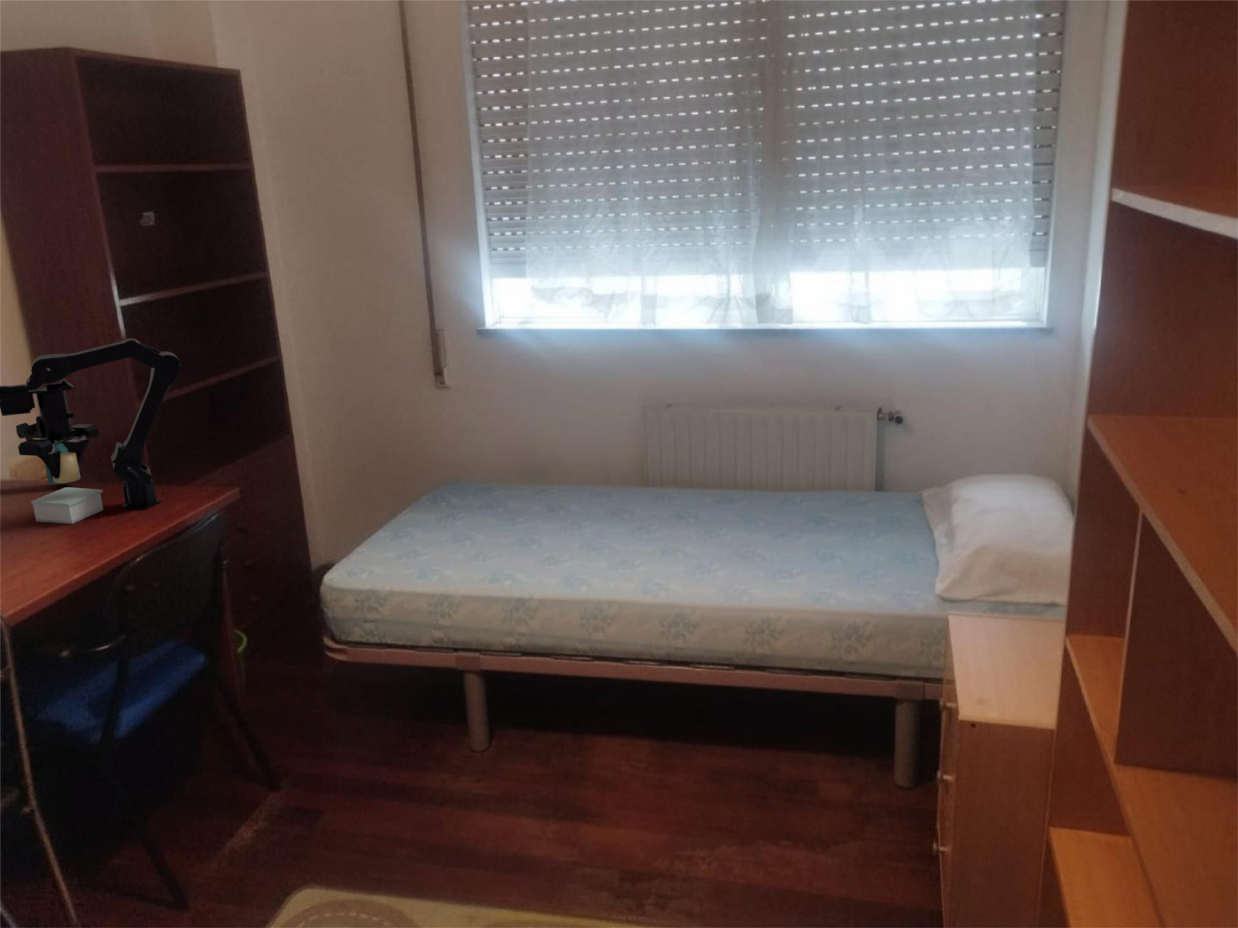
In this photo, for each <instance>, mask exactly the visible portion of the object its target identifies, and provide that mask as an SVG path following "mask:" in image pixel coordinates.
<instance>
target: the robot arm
mask: <svg viewBox="0 0 1238 928" xmlns="http://www.w3.org/2000/svg"><path fill="white" fill-rule="evenodd" d="M128 358H133V359H135V360H138V361H139V362H141V363H143V364H145V365H147V366H148V367H151V369H150V377H149V382H148V387H147V390H146V392H145V395H144V397H143V400H142V401H141V405H140V406H139V407H140V408H139V410H138V412H137V414H136V416H135V420H134V422H133V424H132V425H131V426H132V427H131V430H130V431H129V434H128V436H127V438H126V439H125V440H124V442H123V443H121V442H118V441H117V442H116V443H115V448H114V452H113V453H112V454H111V456H110V459H111V464H112V468H113V473H114V474H115V475H116V476H117V477H118V478H120V479H121V480H124V481H123V482H122V483H123V487H122V491H123V496H124V497H123V498H124V503H125V504H123V505H121V507H122V508H123V509H134V510H135V509H136V510H146V509H148V508H150V507H152V506H154V505H156V504H158V503H162V502H163V501H162V499H161V498H157V491H156V487H155V480H154V479H152V477H153V476H152V473H151V470H150V467H149V466H148V465H146V464H144V463H143V460H144V459H143V458H144V450H145V444H146V442H147V439H148V437H149V435H150V432H151V429H152V427H153V425H154V422H155V420H156V417H157V416H158V415H157V414H158V412H159V409H160V408H161V405H162V402H163V400H164V399H165V398H164V397H165V395H166V393H167V392H168V391H169V389H170V388H171V387H172V385H174V383H175V381H177V378H178V376H179V375H180V373H182V372H181V371H182V364H181V361H180V359H179V358H178V357H177V356H176V354H174V353H173V352H171V351H160V350H158V349H156V348H154V347H151V346H149V345H147V344H144V343H142V342H140V341H139V340H137V339H136V338H130V337H129V338H126V339H124V340H122V341H121V340H120V341H117V342H114V343H109V344H105V345H102V346H98V347H93V348H89V349H85V350H80V351H77V352H72V353H71V352H70V353H54V354H53V353H51V354H43V355H39V356H37V357H35V358H34V360H33V361H32V364H31V369H30V370H31V374H30V375H29V377H28V378H27V379H26V382H25V384H14V385H0V413H1V416H2V417H8V416H15V415H16V416H17V415H25V414H31V413H32V412H31V411H33V409H37V408H36V401H35V397H34V395H36V399H37V403H38V404H37V405H38V409H39V414H40V415H38V416H36V418H35V423H33V424H30V425H29V424H28V422H23V423H20V424H18V425H15V428H16V429H15V430H16V431H15V432H16V435H17V437H18V438H19V439H21V440H22V439H24V440H25V441H22V442H19V444H18V446H17V449H18V454H19V456H29V457H32V456H33V457H38V458H39V459H40V460H41V461H42V462H43V463H44V466H45V465H46V466H47V468H48V469H49V471H50V472H51V474H52V475H53V477H54V478H56V479H58V478H59V477H60V456H61V451H56V450H55V445H57V444H60V443H62V444H63V445H64V446H65V447H66V448H67V450H68V452H74V453H76V457H77V462H78V468H79V469H80V466H81V463H82V461H83V458H84V455H85V452H86V450H87V448H88V445H89V443H91V439H94V438H97V437H100V433H99V428H98V426H96V425H95V424H91V423H89V424H87V423H86V424H85V423H77V424H74V425H72V422H71V418H74V417H75V415H74V412H70V411H69V407H68V402H67V396H66V391H72V390H74V385H73V384H72V383H70V382H69V381H67V380H66V379H65V378H66V377H69V376H70V375H72V374H74V373H75V372H78V371H81V370H84V369H88V368H93V367H96V366H100V365H104V364H108V363H111V362H115V361H119V360H124V359H128ZM59 380H61V381H60V382H57V381H59ZM55 382H56V383H55ZM44 384H46V385H45V386H46V387H42V386H44ZM41 387H42V388H41ZM86 437H87V438H89V439H86ZM42 438H46V440H42ZM55 440H57V441H55Z"/></svg>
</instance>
